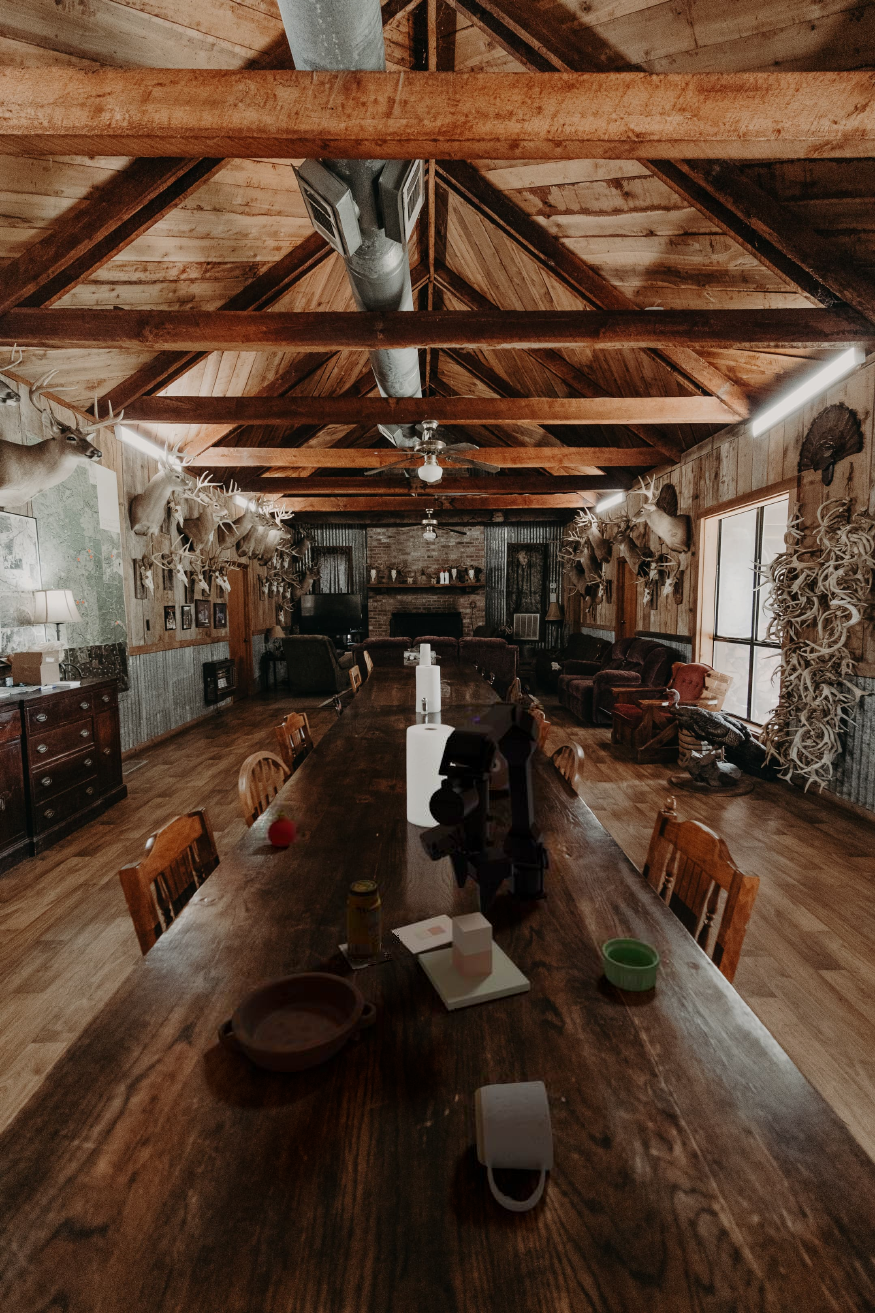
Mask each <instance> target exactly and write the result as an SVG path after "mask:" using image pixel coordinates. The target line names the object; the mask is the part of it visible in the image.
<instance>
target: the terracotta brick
mask: <svg viewBox="0 0 875 1313" xmlns="http://www.w3.org/2000/svg"><path fill="white" fill-rule="evenodd" d="M451 948H452V955H453V965H454V966H455V967H456V969H457V970H458V971H459V973H460V974H461V976H462V977H463V978H464V980H466V979H470V978H474V977H478V976H482V975H486V974H490V973H492V950H488V951H484V952H479V953H475V954H470V955H466V956H464V955H463V954H462V953H461V951H460V950H459V949H458V947H457V946H456V945H455V943H454V942H453V941H452V947H451Z"/></svg>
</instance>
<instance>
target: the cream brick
mask: <svg viewBox="0 0 875 1313" xmlns="http://www.w3.org/2000/svg"><path fill="white" fill-rule="evenodd" d="M451 920H452V941H453V942H454V943H455V945H456V946H457V947H458V949H459V950H460V951H461V953H462V954H463V955H464V956H466V955H470V954H475V953H479V952H484V951H488V950H492V940H493V925H492V924H491V923H490V922H489V921H488V920H487V919H486V918H485V916H484V915H483V913H481V912H480V911H478V912H473V913H468V914H462V915H459V916H453V917H451Z"/></svg>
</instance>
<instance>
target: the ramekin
mask: <svg viewBox="0 0 875 1313" xmlns="http://www.w3.org/2000/svg"><path fill="white" fill-rule="evenodd" d="M602 956H603V963H604V964H603V965H604V974H605V977H606V979H607V980H608V981H609V982H610V983H611V984H612V985H614V986H616V987H617V988H619V989H621V990H625V991H628V992H645V991H647V990H650V989H652V988H653V987H654V986H655V984H656V982H657V973H658V966H659V963H660V955H659V952H658V951H657V950H656V949H655V948H654V947H653V946H651V945H650V944H648V943H647V942H644V941H641V940H638V939H633V938H627V937H626V938H624V937H619V938H613V939H610V940H607V941H606V942H604V944H603V946H602Z"/></svg>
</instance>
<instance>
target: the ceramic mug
mask: <svg viewBox="0 0 875 1313" xmlns="http://www.w3.org/2000/svg"><path fill="white" fill-rule="evenodd" d="M548 1100H549V1099H548V1096H547V1090H546V1086H545V1083H544V1082H543V1081H542V1080H537V1081H526V1082H525V1081H524V1082H523V1081H522V1082H513V1083H504V1084H503V1083H501V1084H500V1083H499V1084H489V1085H488V1084H487V1085H486V1086H485V1085H484V1086H482V1087H479V1088H477V1089H476V1090H475V1092H474V1111H475V1126H476V1127H475V1130H476V1151H477V1152H476V1153H477V1155H476V1156H477V1159H478V1161H479V1163H480V1164H481V1165H483V1166H486V1167H487V1178H488V1184H489V1186H490V1190H491V1193H492V1194H493V1197H494V1198H495V1199H496V1202H498V1204H500V1205H501V1206H503V1208H505V1209H507V1210H510V1211H513V1212H527V1211H528V1210H531V1209H533V1208H534V1207H535V1206H536V1205H537V1203H538V1202H539V1200H540V1198H541V1196H542V1194H543V1191H544V1187H545V1180H546V1171H549V1170H552V1169H553V1166H554V1164H553V1163H554V1149H553V1147H554V1144H553V1135H552V1134H553V1133H552V1124H551V1117H550V1116H551V1115H550V1108H549V1101H548ZM493 1168H494V1169H519V1170H520V1169H521V1170H531V1171H532V1170H533V1171H534V1170H535V1171H537V1170H540V1177H539V1181H538V1182H539V1183H538V1184H537V1188H535V1190H534V1192H533V1193H532V1194H531V1195H530V1197H529V1198H527V1199H526V1200H525V1201H524V1200H523V1201H517V1200H515V1199H514V1198H512V1197H510V1196H509V1195H508V1196H507V1195H504V1193H503V1192H501V1191H499V1189H498V1186H497V1185H496V1183H495V1180H494V1175H493V1170H492V1169H493Z"/></svg>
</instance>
